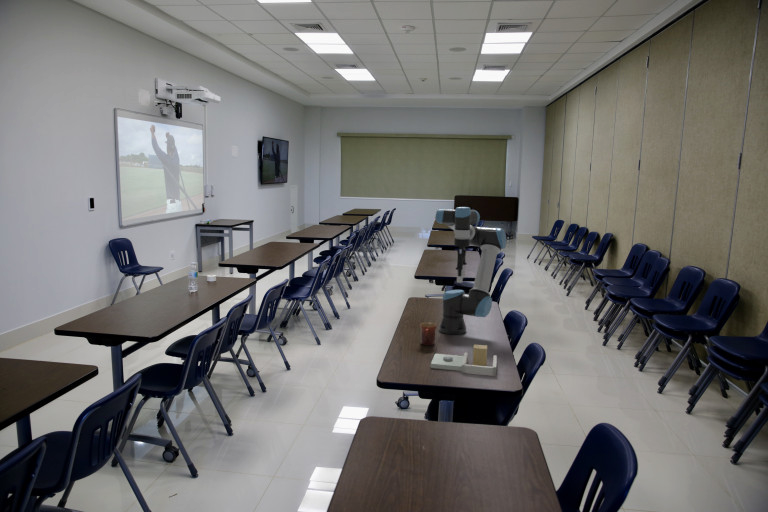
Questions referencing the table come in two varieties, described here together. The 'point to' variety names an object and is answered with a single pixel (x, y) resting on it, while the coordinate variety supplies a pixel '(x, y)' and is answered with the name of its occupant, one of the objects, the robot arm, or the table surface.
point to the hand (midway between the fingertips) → (460, 280)
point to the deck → (462, 364)
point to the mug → (428, 333)
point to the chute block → (480, 355)
